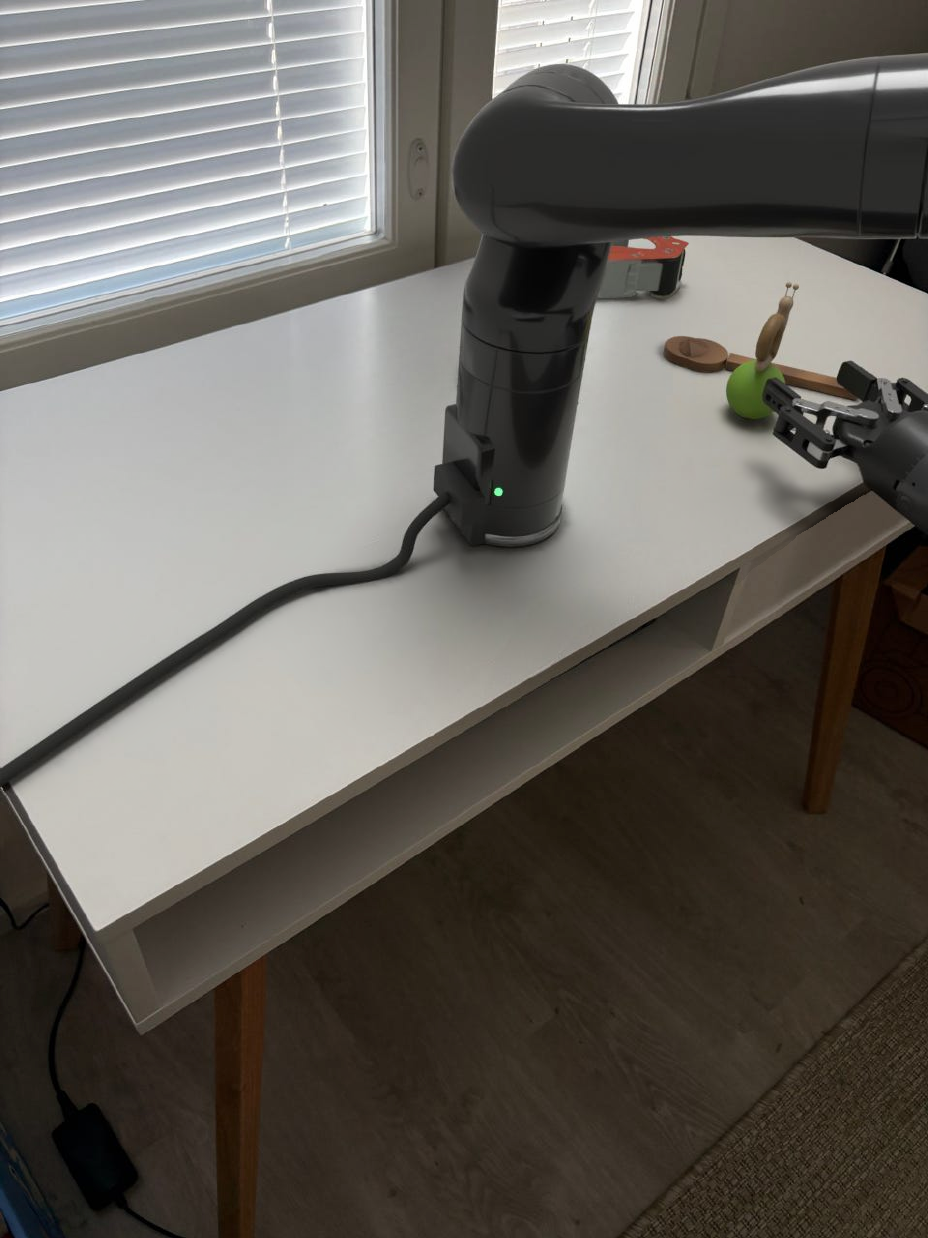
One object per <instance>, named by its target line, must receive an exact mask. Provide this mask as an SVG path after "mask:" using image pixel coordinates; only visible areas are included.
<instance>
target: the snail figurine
mask: <svg viewBox="0 0 928 1238" xmlns="http://www.w3.org/2000/svg"><path fill="white" fill-rule="evenodd" d="M791 287H792V290H793V292H792V296H790V295H787V294H788V291H789V289H790V288H791ZM785 288H786V291H785V294H784V296H783V297H781V298H780V300H779V302H778V308H777V311H776V313H773V314H772V315H770V316H769V317H768V319H767V320H766V321H765V323H764V324H763V326H762V328H761V330H760V333H759V335H758V338H757V341H756V345H755V352H754V356H755V359H757V360H753V361H748V362H746V363H743V364H742V365H740V366H739V367H737V368H736V369H735V370H734V371H732V373H731V374H730V375H729V377H728V379H727V382H726V387H725V396H726V397H725V398H726V401H727V403H728V405H729V407H730V408H731V410H732V411H733V412H735V413H736V414H737V415H739V416H740V417H743V418H745V419H751V420H757V419H763V418H766V417H767V416H770V415H771V414H773V413H775V411H773V410H772V409H771V408H770V407H768V406H767V405H766V404H765V403H764V402H763V400H762V394H763V390H764V387H765V384H766V381H767V380H768V379H770V378H775V377H776V378H778V379H779V380H781V381H782V382H783V383H784V384H786V383H785V380H784V377H783V375H782V373H781V372H780V370H779V369H778V368H777V367H776V366H774V365H773V364H771V363H773V361H774V360H775V358H776V357H777V355H778V353H779V350H780V346H781V343H782V341H783V336H784V333H785V329H786V328H787V324H788V320H789V317H790V313H791V311H792V309H793V307H794V297H795V293H796V291H798V290H799V288H800V286H799V284H798V283H794V284H793V285H792V282H790V281H787V282H786V283H785Z"/></svg>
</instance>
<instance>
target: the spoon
mask: <svg viewBox="0 0 928 1238" xmlns="http://www.w3.org/2000/svg"><path fill="white" fill-rule="evenodd" d="M663 356H664V357H665V358H666V359H667V361H669V362H671V363H672V364H675V365H678V366H681V367H685V368H687V369H689V370H693V371H695V372H696V371H697V372H701V373H702V372H703V373H713V372H718V371H721V370H722V369H725V370H728V371H732V372H733V371H734V370H735V369H736V368H737V367H739V366H740V365H742V364H743V363H746V362H748V361H753V360H757V359H756V358H754V357H751V356H750V357H749V356H745V355H742V354H737V353H733V352H730V353H728V350H727V349H726V347H724V345H722V344H720V343H718V342H717V341H714V340H711V339H707V338H701V337H692V336H687V335H677V336H672V337H669V338H667V340H666V341H665V343H664V347H663ZM771 364H773V365H774V366H776V367H777V368H778V369H779V370H780V372H781V373H782V375H783V377H784V380H785V384H786V385H791V386H795V387H798V388H802V389H808V390H810V391H811V390H812V391H816V392H820V393H824V394H829V395H832V396H837V397H840V398H845V399H849V400H853V401H856V400H857V399H858V398H857V397H856V396H854V395H853V394H852V393H850V392H849V391H848V390H846V389H845V388H843V387H842V386H841V385H839V384H838V382H837V377H835V376H830V375H826V374H823V373H817V372H813V371H810V370H804V369H800V368H796V367H793V366H788V365H784V364H779V363H775V362H771Z"/></svg>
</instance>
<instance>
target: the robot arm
mask: <svg viewBox="0 0 928 1238" xmlns="http://www.w3.org/2000/svg"><path fill="white" fill-rule="evenodd" d="M451 185H452V191H453V194H454V197H455V200H456V202H457V204H458V206H459V208H460V210H461V211H462V213H463V214H464V216H465V217H466V218H467V219H468V221H469V222H470V223H471V224H472V225H473V226H474V227H475V228H476V229H477V230H479V231H480V232H481V233H482V234H481V238H480V242H479V245H478V248H477V251H476V254H475V257H474V259H473V262H472V264H471V266H470V269H469V271H468V274H467V277H466V279H465V283H464V286H463V295H462V310H461V326H460V338H459V339H460V341H459V343H460V344H459V354H458V370H457V383H456V385H457V386H456V397H455V399H456V400H455V403H453V404H450V405H447V406H446V407H445V409H444V425H443V439H442V440H443V441H442V459H441V463H440V464H435V465H434V472H433V488H432V489H433V492H434V493H435V495H436V496H437V497H436V498H435V499H434V500H433V501H431V502H430V504H428V505H427V506H426V507H425V508H424V509H422V511H420V512H419V513H418V514H417V516H415V518H414V519H412V521H411V522H410V524H409V526H408V527H407V528H406V530H405V533H404V535H403V538H402V543H401V547H400V550H399V552H398V554H397V555H396V556H395V557H394V558H392V559H391V560H389V561H388V562H386V563H385V564H383V565H381V566H378V567H376V568H372V569H367V570H361V571H348V572H347V571H346V572H343V571H342V572H326V573H324V572H323V573H316V574H312V575H311V574H310V575H306V576H303V577H300V578H297V579H294V580H292V581H289V582H286V583H284V584H282V585H280V586H278V587H276V588H274V589H272V590H270V591H268V592H266V593H264V594H263V595H261V596H259V597H257V598H256V599H254V600H252V601H251V602H249V603H247V605H245V606H243V607H242V608H240V609H239V610H237V611H236V612H235V613H234V614H232V615H230V616H229V617H228V618H226V619H224V620H223V621H222V622H220V623H218V624H217V625H215V626H213V627H212V628H211V629H209V630H207V631H205V632H204V633H202V634H201V635H199V636H198V637H196V638H195V639H193V640H191V641H190V642H188V643H187V644H185V645H184V646H182V647H181V648H180V647H179V649H177V650H176V651H174V652H173V653H171V654H170V655H168V656H166V657H165V658H163V659H162V660H160V661H159V662H157V663H156V664H154V665H153V666H151V667H150V668H148V669H146V670H145V671H144V672H142V673H141V674H139V675H137V676H136V677H134V678H133V679H131V680H129V681H128V682H126V683H125V684H123V685H122V686H121V687H119V688H117V689H116V690H115V691H112V693H110V694H108V695H107V696H105V697H103V698H102V699H101V700H100V701H98V702H96V703H95V704H94V705H92V706H90V707H89V708H88V709H86V710H84V711H83V712H82V713H80V714H79V715H77V716H76V717H74V718H73V719H71V720H70V721H68V722H67V723H65V724H64V725H63V726H60V728H58V729H57V730H55V731H54V732H52V733H51V734H49V735H47V736H46V737H45V738H44V739H42V740H40V741H39V742H37V743H36V744H34V745H33V746H31V747H30V748H29V749H27V750H26V751H24V752H23V753H21V754H19V755H18V756H17V757H15V758H13V759H12V760H11V761H9V762H8V763H6V764H5V765H3V766H2V767H0V788H2V787H3V786H4V785H6V784H7V783H9V782H11V781H12V780H13V779H15V778H16V777H17V776H19V775H21V774H22V773H24V772H26V771H27V770H28V769H29V768H31V767H33V766H34V765H35V764H37V763H38V762H40V761H41V760H42V759H44V758H46V757H47V756H48V755H50V754H51V753H52V752H54V751H55V750H57V749H58V748H60V747H61V746H63V745H64V744H66V743H67V742H69V741H70V740H72V739H74V737H76V736H77V735H78V734H80V733H81V732H83V731H84V730H86V729H87V728H89V727H90V726H92V725H93V724H95V723H96V722H98V721H99V720H101V719H102V718H103V717H105V716H107V715H108V714H109V713H111V712H112V711H114V710H116V709H117V708H119V707H120V706H121V705H123V704H124V703H126V702H127V701H129V700H130V699H132V698H133V697H135V696H136V695H138V694H139V693H141V692H142V691H143V690H145V689H147V688H148V687H150V686H151V685H152V684H154V683H156V682H157V681H158V680H160V679H161V678H163V677H164V676H166V675H167V674H169V673H171V672H172V671H173V670H175V669H176V668H178V667H179V666H181V665H182V664H184V663H185V662H187V661H189V660H191V659H192V658H193V657H196V655H198V654H199V653H201V652H203V651H204V650H206V649H208V648H209V647H211V646H212V645H214V644H215V643H216V642H217V643H218V641H220V640H221V639H223V638H225V637H226V636H227V635H229V634H231V633H232V632H233V631H235V630H236V629H238V628H239V627H241V626H243V625H244V624H245V623H246V622H248V621H250V620H251V619H252V618H253V617H255V616H257V615H258V614H260V613H262V612H263V611H264V610H266V609H268V608H269V607H271V606H273V605H274V604H277V603H279V602H280V601H282V600H284V599H287V598H289V597H291V596H293V595H296V594H298V593H301V592H303V591H306V590H310V589H314V588H319V587H326V586H327V587H328V586H343V585H345V586H346V585H353V584H354V585H355V584H361V583H367V582H372V581H377V580H381V579H386V578H388V577H389V576H391V575H394V574H396V573H397V572H398V571H400V570H401V569H402V568H404V567H405V566H406V565H407V564H408V562H409V561H410V559H411V557H412V555H413V552H414V549H415V544H416V541H417V538H418V537H419V534H420V533H421V532H422V530H423V529H424V527H425V526H427V524H428V523H429V522H430V521H431V520H432V519H433V518H434V517H436V516H437V515H438V514H439V513H440V512H441V511H442V510H444V512H445V513H446V514H447V516H448V517H449V518H450V520H451V522H452V523H453V524H454V526H455V527H456V528H457V529H458V531H460V533H461V534H462V535H463V537H464V538H465V540H466V541H467V542H468V544H469V545H471V546H473V547H474V546H478V545H484V544H485V545H486V544H487V545H491V546H497V547H505V548H507V547H508V548H514V547H515V548H516V547H524V546H529V545H534V544H537V543H539V542H541V541H543V540H545V539H547V538H548V537H550V536H551V535H552V534H554V532H555V531H556V530H557V528H558V527H559V526H560V523H561V518H562V513H563V512H562V511H563V498H564V492H565V487H566V480H567V475H568V474H567V473H568V467H569V461H570V455H571V448H572V442H573V437H574V431H575V423H576V419H577V411H578V405H579V399H580V392H581V388H582V387H581V386H582V380H583V374H584V368H585V363H586V357H587V350H588V344H589V337H590V331H591V327H592V321H593V315H594V311H595V307H596V303H597V301H598V299H599V298H598V295H599V292H600V289H601V287H602V284H603V280H604V277H605V273H606V269H607V265H608V260H609V254H610V249H611V244H612V242H615V241H623V240H629V241H630V240H631V241H632V240H641V239H642V238H652V237H665V236H671V237H681V236H683V237H684V236H690V237H691V236H693V237H694V236H695V237H725V238H726V237H727V238H819V239H820V238H822V239H823V238H825V239H843V240H845V239H846V240H847V239H848V240H891V239H892V240H902V239H903V240H904V239H905V240H906V239H908V240H912V239H913V240H914V239H915V240H916V238H917V237H918V238H919V239H921V240H922V239H923V240H924V239H928V52H924V53H923V52H922V53H909V54H895V55H894V54H893V55H882V56H880V55H879V56H878V55H877V56H869V57H861V58H860V57H859V58H853V59H847V60H840V61H835V62H830V63H824V64H820V65H817V66H816V65H815V66H811V67H808V68H803V69H800V70H796V71H793V72H788V73H785V74H782V75H778V76H775V77H771V78H767V79H763V80H759V81H756V82H754V83H749V84H746V85H744V86H740V87H737V88H734V89H730V90H727V91H723V92H720V93H716V94H713V95H708V96H703V97H699V98H694V99H690V100H683V101H675V102H664V103H663V102H662V103H646V104H644V103H643V104H642V103H641V104H640V103H636V104H635V103H619V101H618V100H617V98H616V96H615V95H614V93H613V92H612V90H611V89H610V88H609V86H608V85H607V84H606V83H605V82H604V81H603V80H602V79H601V78H599V76H597V75H596V74H594V73H593V72H591V71H589V70H588V69H586V68H584V67H580V66H577V65H573V64H568V63H552V64H546V65H542V66H540V67H537V68H534V69H532V70H530V71H528V72H526V73H524V74H523V75H522V76H520V77H519V78H517V79H516V80H514V81H513V82H511V84H509V85H508V86H507V87H506V88H505V89H504V90H502V91H501V92H500V93H498V94H497V95H496V96H495V97H493V98H491V100H490V101H488V102H487V103H486V104H485V105H484V106H483V107H482V108H481V109H480V110H479V111H478V112H477V113H476V114H475V116H474V117H473V118H472V119H471V121H470V122H469V124H468V125H467V127H465V129H464V131H463V133H462V135H461V137H460V139H459V141H458V144H457V146H456V149H455V151H454V154H453V159H452V165H451ZM836 378H837V382H838V384H839V385H841V386H842V387H843V388H845V389H846V390H848V391H849V392H850V393H852V394H853V395H854V396H856V397H857V398H856V399H858V400H859V401H861V402H859V403H858V404H853V405H843V404H839V403H836V402H833V401H830V400H825V401H823V402H822V403H818V402H817V403H816V402H814V401H811V400H806V399H803V398H802V396H801V395H800V394H798V393H797V392H796V391H794V389H792V388H791V387H790V386H788V384H786V383H785V384H784V383H783V382H782V381H781V380H779V379H778V378H776V377H775V378H770V379H768V380H767V381H766V384H765V387H764V390H763V394H762V400H763V402H764V403H765V404H766V405H767V406H768V407H770V408H771V409H772V410H773V411H774V413H775V414H777V415H778V416H777V419H776V422H775V425H774V428H773V429H772V436H774V437H775V438H776V439H777V440H779V441H780V442H782V443H783V444H784V445H785V446H786V447H788V448H789V449H791V450H792V451H793V452H794V453H796V454H797V455H798V456H800V457H801V458H803V460H805V461H806V462H807V463H808V464H810V465H811V466H813V467H814V468H816V469H820V470H824V469H827V467H828V464H829V462H830V460H831V459H834V458H836V457H841V458H843V459H846V460H849V461H850V462H852V463H854V464H856V465H857V467H858V469H859V472H860V476H861V479H862V481H863V483H864V485H865V486H866V487H867V488H868V490H870V491H871V492H873V493H874V494H875V495H877V496H878V497H879V498H880V499H881V500H882V501H884V502H885V503H886V504H887V505H889V506H890V507H891V508H892V509H894V510H895V511H896V512H897V513H899V514H900V515H901V516H902V517H903V518H904V519H906V521H908V522H909V523H911V524H912V525H913V526H914V527H916V528H917V529H918V530H919V531H921V532H922V533H923V534H924V535H927V536H928V393H927V392H926V391H925V390H923V389H922V388H921V387H920V386H918V385H917V384H916V383H914V382H913V381H911V380H910V379H909V378H905V377H899V378H898V379H897V380H896V382H892V381H891V380H889V379H888V378H885V377H876V376H875V375H874V374H872V373H871V372H869V371H868V370H866V369H865V368H864V367H862V366H861V365H859V364H857V363H856V362H854V361H853V360H845V361H842V363H841V364H840V367H839V369H838V373H837V375H836ZM907 396H908V397H909V398H910V401H909V404H908V403H907V402H905V400H906V398H907ZM804 414H807V415H812V416H814V417H816V421H815V423H814V422H812V421H811V420H810V419H809V418H807V417H806V416H804ZM829 417H835V419H834V422H833V425H832V428H831V429H832V430H831V431H832V434H831V431H830V430H828V429H825V425H826V423H827V420H828V418H829ZM792 431H793V432H794V433H793V432H792Z"/></svg>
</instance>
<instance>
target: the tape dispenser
mask: <svg viewBox="0 0 928 1238" xmlns="http://www.w3.org/2000/svg"><path fill="white" fill-rule="evenodd" d="M641 239H643V240H648V241H649V242H651V243H652V244H653V245H654V246H655V247H654V248H642V247H640V248H639V247H631V246H629V243H630V242H629V241H630V240H623V241H615V242H612V244H611V249H610V254H609V260H608V265H607V269H606V273H605V277H604V280H603V284H602V287H601V289H600V292H599V295H598V298H597V299H611V298H612V299H614V298H615V299H617V298H633V297H635V296H636V295H637V293H638V292H649V295H651V297H653V298H656V299H668V298H670V297H672V295H674V294H675V292H676V291H678V290H679V288H680V287H681V286H682V284H683V280H682V277H683V267H684V264H685V260H686V253H687V251H686V248H687V247H688V245H689V242H688V241H685V240H682V239H679V238H676V237H674V236H665V237H652V238H641Z"/></svg>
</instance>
